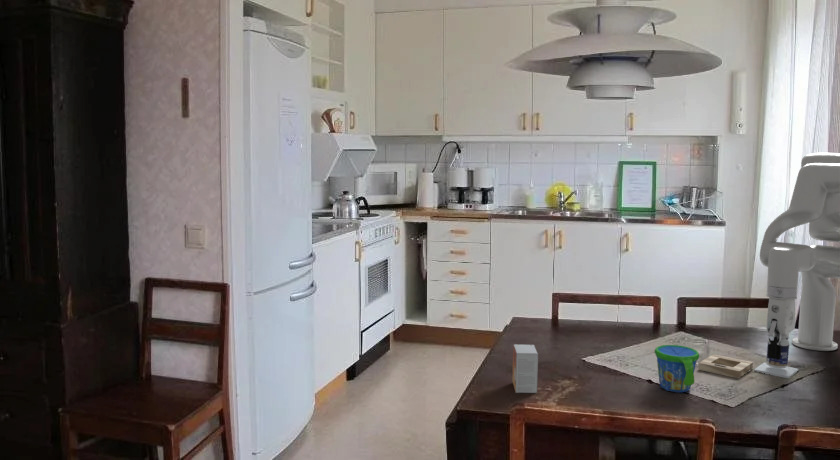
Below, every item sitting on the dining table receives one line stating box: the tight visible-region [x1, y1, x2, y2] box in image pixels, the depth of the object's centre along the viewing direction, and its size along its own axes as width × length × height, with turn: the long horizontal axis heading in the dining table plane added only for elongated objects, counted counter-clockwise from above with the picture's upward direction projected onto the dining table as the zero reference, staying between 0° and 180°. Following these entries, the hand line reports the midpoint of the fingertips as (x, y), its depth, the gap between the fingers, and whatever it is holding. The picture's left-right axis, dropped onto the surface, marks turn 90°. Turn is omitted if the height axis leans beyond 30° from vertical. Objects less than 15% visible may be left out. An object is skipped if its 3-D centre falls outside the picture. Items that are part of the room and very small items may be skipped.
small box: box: [511, 343, 539, 394], centre depth 189 cm, size 8×6×10 cm
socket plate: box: [698, 354, 754, 379], centre depth 205 cm, size 11×11×2 cm
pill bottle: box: [765, 331, 790, 368], centre depth 203 cm, size 5×5×10 cm
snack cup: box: [654, 344, 700, 393], centre depth 189 cm, size 16×10×10 cm
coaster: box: [753, 361, 800, 379], centre depth 204 cm, size 9×9×1 cm
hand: (777, 355), depth 204 cm, fingers closed on pill bottle, 5 cm apart
